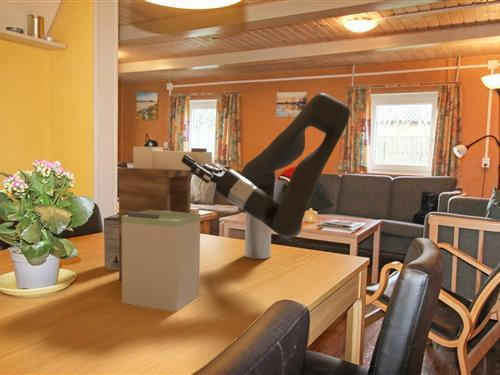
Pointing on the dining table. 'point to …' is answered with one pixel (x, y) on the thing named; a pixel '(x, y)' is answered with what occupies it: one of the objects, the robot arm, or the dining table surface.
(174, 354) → the dining table surface
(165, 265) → the green-lidded white box
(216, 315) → the dining table surface
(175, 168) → the stepped cream block
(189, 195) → the walnut bridge
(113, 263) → the coffee box
